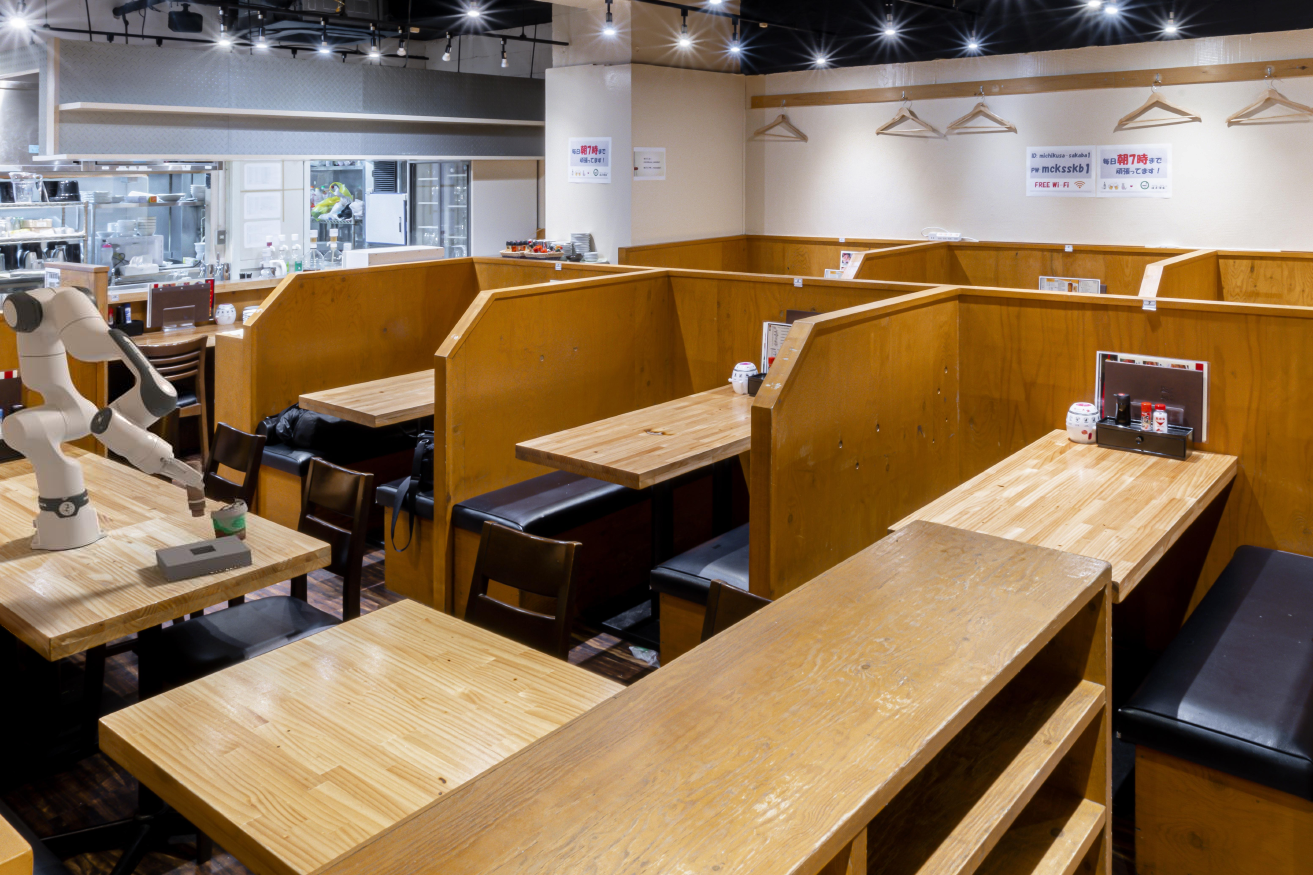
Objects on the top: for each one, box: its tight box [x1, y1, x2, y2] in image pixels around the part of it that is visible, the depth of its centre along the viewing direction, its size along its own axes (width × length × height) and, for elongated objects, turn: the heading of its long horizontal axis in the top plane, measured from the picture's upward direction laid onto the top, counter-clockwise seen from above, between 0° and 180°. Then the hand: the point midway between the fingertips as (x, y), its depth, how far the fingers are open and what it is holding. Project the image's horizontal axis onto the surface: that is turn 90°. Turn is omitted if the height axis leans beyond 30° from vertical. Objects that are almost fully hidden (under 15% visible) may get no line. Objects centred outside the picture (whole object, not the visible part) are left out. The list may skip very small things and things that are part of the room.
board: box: [155, 535, 253, 583], centre depth 273 cm, size 15×20×4 cm
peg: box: [184, 460, 207, 518], centre depth 268 cm, size 4×4×14 cm
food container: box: [210, 498, 249, 542], centre depth 291 cm, size 12×6×10 cm, turn 168°
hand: (197, 485), depth 269 cm, fingers closed on peg, 4 cm apart
